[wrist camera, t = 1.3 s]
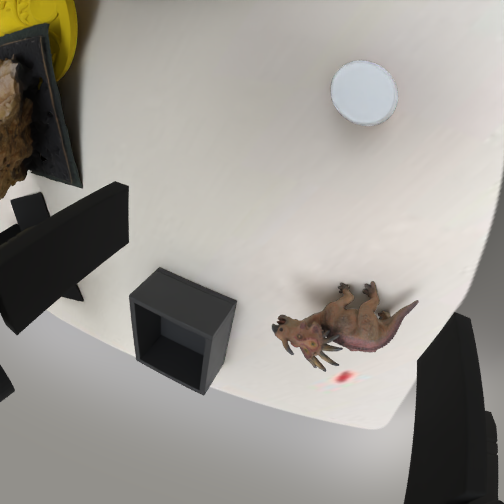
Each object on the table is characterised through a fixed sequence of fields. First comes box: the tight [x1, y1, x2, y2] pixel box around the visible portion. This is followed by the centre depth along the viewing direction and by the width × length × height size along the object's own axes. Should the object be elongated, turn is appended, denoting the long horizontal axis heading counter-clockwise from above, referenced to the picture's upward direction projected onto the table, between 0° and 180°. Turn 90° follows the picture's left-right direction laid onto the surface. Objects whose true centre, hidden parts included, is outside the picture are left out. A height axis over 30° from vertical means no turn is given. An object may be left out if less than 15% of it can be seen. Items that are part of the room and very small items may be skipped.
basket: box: [129, 267, 237, 395], centre depth 43 cm, size 14×12×7 cm
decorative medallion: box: [0, 0, 78, 90], centre depth 25 cm, size 24×24×2 cm
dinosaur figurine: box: [272, 282, 418, 372], centre depth 31 cm, size 14×6×9 cm, turn 104°
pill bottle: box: [331, 60, 398, 126], centre depth 20 cm, size 5×5×8 cm
